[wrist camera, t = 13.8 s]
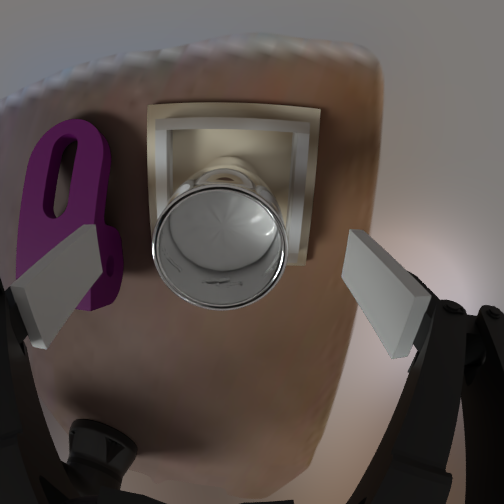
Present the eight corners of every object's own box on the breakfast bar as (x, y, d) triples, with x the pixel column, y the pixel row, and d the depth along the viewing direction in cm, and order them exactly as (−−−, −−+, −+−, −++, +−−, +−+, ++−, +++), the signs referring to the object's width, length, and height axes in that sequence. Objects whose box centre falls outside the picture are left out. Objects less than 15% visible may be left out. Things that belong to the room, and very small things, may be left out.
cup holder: (303, 261, 32) (310, 276, 29) (155, 258, 31) (147, 273, 28) (317, 109, 26) (328, 107, 23) (150, 105, 25) (139, 103, 22)
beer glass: (274, 211, 29) (306, 293, 15) (206, 231, 29) (180, 327, 16) (253, 141, 26) (271, 159, 12) (182, 165, 27) (124, 208, 13)
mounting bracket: (71, 149, 31) (56, 291, 31) (37, 124, 23) (15, 298, 22) (136, 145, 32) (122, 300, 31) (112, 114, 23) (90, 311, 23)
